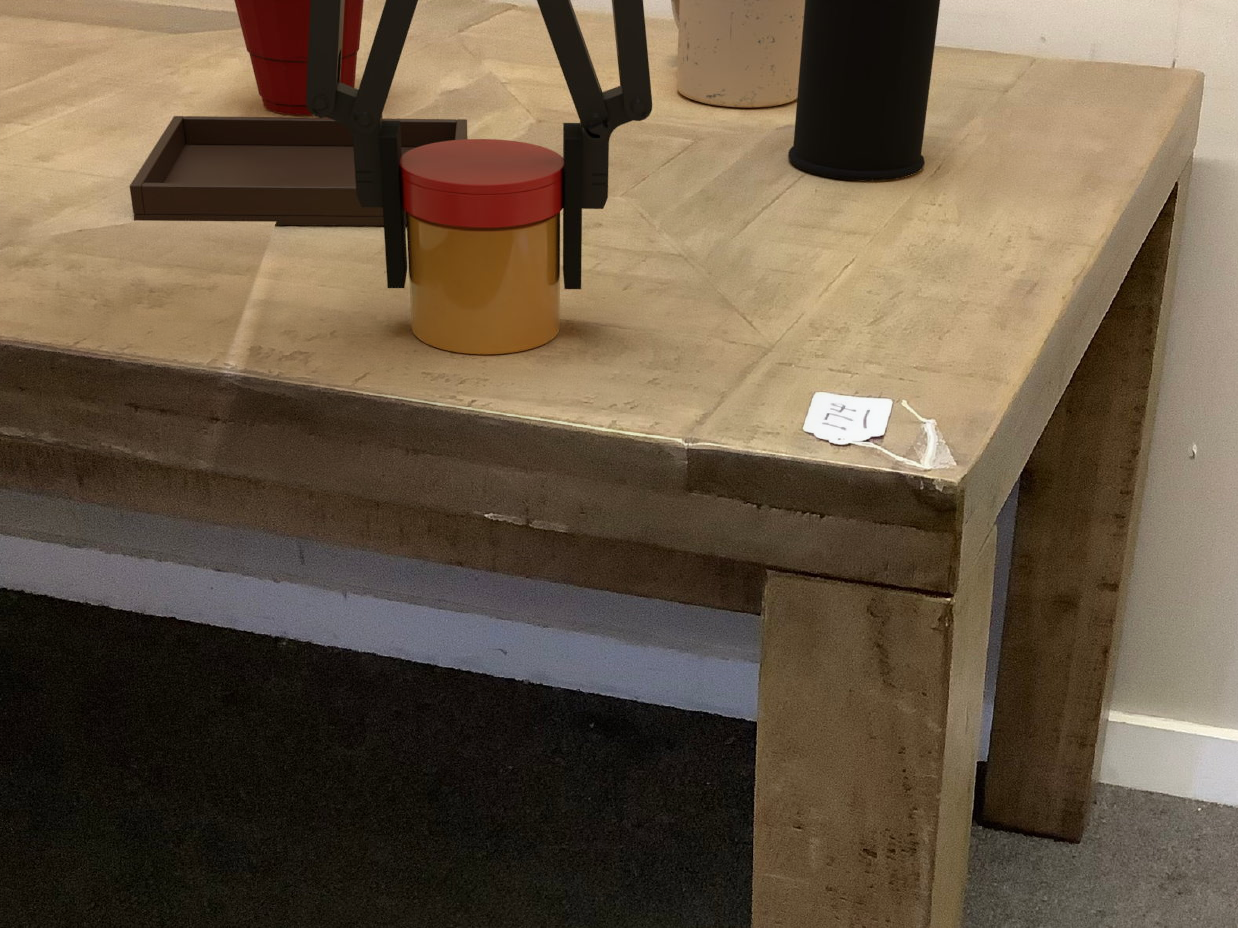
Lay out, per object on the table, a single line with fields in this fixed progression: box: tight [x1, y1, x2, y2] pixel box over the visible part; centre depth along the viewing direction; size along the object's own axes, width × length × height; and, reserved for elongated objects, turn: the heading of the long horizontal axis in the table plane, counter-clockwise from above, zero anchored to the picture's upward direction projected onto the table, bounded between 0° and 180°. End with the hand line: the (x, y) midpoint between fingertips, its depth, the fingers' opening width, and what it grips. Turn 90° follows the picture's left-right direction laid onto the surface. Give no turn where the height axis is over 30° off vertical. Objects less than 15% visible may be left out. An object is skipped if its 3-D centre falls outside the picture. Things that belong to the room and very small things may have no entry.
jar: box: [406, 211, 561, 355], centre depth 75 cm, size 7×7×7 cm
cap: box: [399, 138, 564, 228], centre depth 73 cm, size 7×7×2 cm
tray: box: [129, 115, 469, 227], centre depth 94 cm, size 17×14×2 cm
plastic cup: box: [233, 0, 364, 116], centre depth 106 cm, size 11×11×12 cm
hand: (484, 277), depth 76 cm, fingers closed on cap, 7 cm apart
